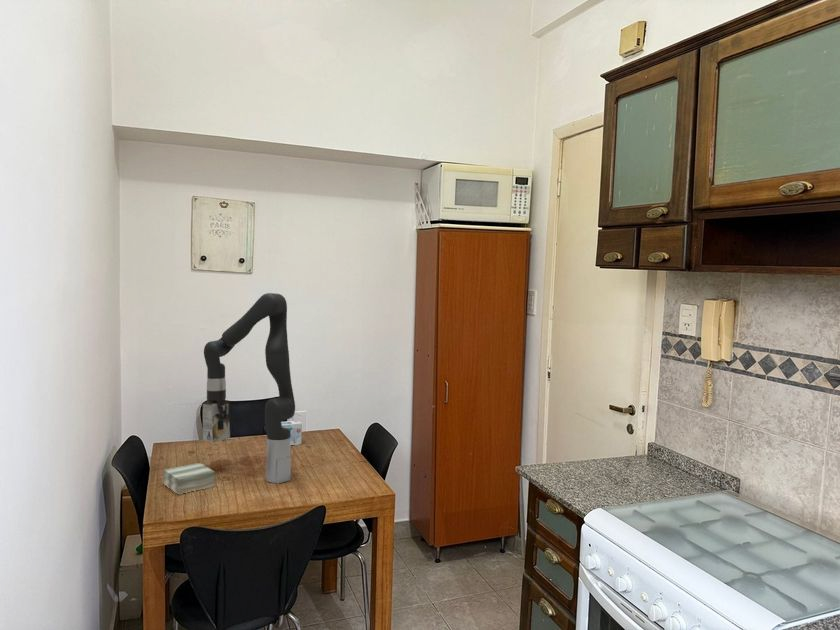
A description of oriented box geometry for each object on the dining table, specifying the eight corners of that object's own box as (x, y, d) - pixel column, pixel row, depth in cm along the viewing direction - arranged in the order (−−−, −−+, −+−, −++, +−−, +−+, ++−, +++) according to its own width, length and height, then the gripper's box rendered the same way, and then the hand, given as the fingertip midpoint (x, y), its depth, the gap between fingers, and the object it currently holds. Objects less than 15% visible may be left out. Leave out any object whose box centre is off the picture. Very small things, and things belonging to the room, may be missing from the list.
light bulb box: (280, 447, 281) (280, 425, 280) (276, 443, 286) (277, 421, 286) (302, 444, 286) (302, 423, 285) (298, 441, 291) (298, 420, 291)
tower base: (214, 486, 226) (214, 471, 226) (178, 495, 216) (178, 479, 216) (199, 477, 236) (199, 462, 236) (163, 484, 226) (163, 469, 226)
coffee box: (220, 435, 250) (220, 398, 249) (230, 438, 246) (230, 400, 246) (202, 440, 242) (202, 402, 241) (212, 443, 239) (212, 404, 238)
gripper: (232, 389, 241) (232, 429, 241) (217, 385, 251) (217, 423, 252) (215, 392, 235) (215, 432, 236) (200, 387, 246) (200, 426, 246)
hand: (216, 427), depth 244 cm, fingers closed on coffee box, 7 cm apart
